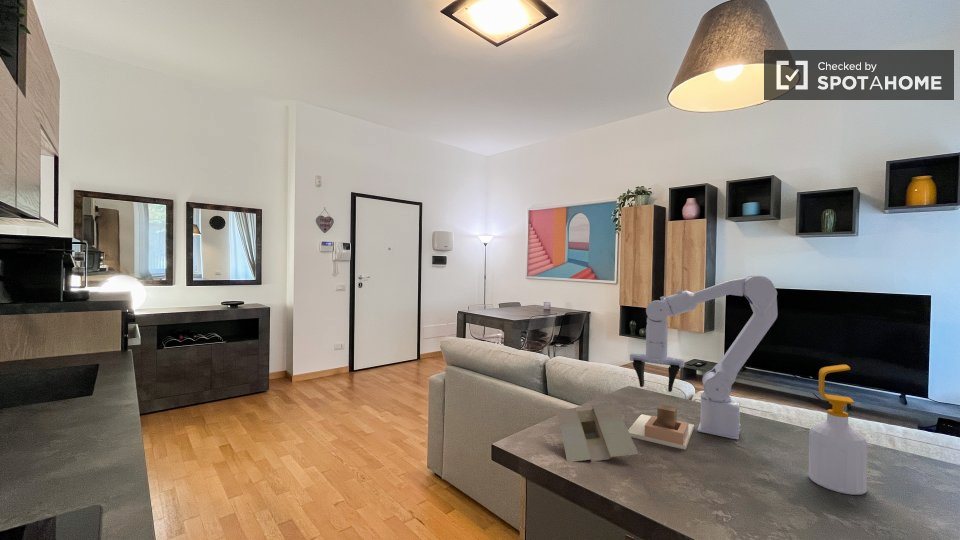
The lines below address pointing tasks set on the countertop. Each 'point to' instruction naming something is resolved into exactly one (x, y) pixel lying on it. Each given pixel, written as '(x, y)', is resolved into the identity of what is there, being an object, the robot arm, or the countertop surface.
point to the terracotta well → (666, 431)
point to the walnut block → (667, 416)
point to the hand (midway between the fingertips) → (655, 388)
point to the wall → (595, 433)
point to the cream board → (639, 432)
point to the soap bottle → (837, 446)
